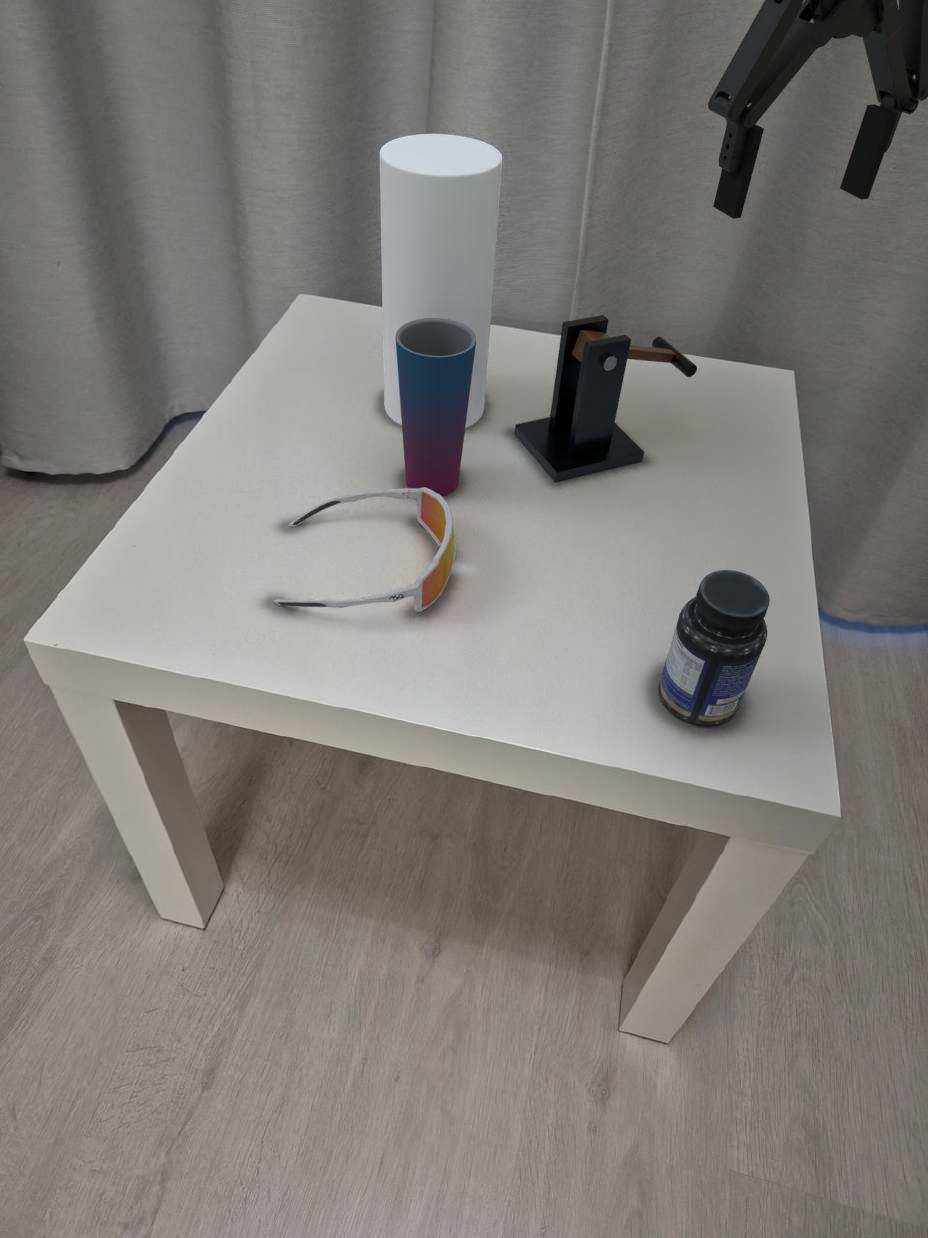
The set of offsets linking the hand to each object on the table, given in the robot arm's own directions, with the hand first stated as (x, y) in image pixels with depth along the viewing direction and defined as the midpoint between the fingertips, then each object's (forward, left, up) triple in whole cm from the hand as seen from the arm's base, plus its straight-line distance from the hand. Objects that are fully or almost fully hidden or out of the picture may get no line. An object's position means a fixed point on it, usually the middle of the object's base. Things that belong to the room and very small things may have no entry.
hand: (792, 202), depth 73 cm
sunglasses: (+16, +36, -25) cm, 47 cm away
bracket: (+11, +9, -24) cm, 28 cm away
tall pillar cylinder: (+27, +12, -25) cm, 39 cm away
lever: (+9, +6, -16) cm, 19 cm away
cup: (+19, +23, -25) cm, 39 cm away
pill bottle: (-13, +32, -25) cm, 43 cm away
